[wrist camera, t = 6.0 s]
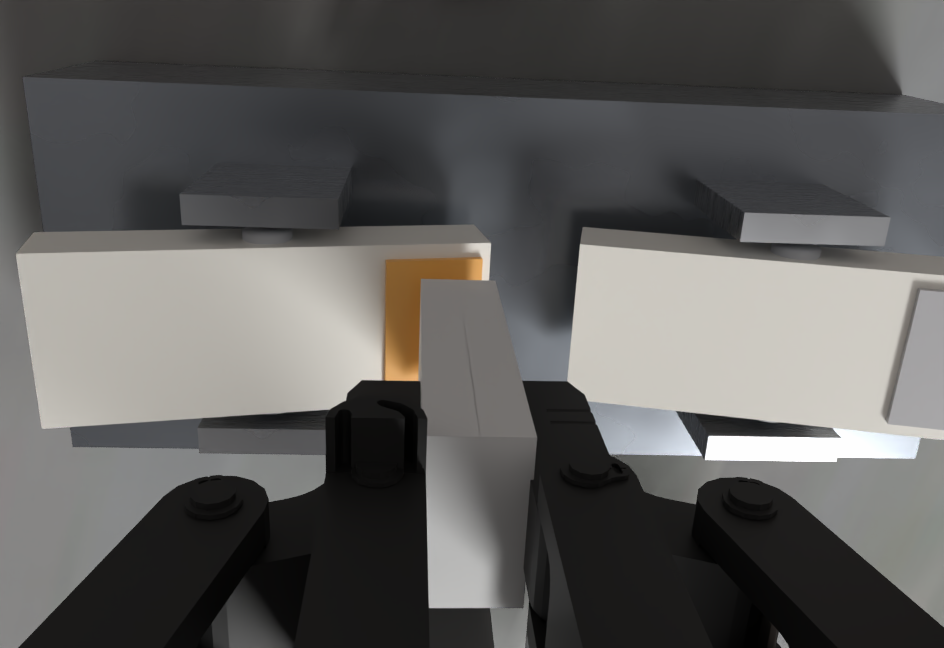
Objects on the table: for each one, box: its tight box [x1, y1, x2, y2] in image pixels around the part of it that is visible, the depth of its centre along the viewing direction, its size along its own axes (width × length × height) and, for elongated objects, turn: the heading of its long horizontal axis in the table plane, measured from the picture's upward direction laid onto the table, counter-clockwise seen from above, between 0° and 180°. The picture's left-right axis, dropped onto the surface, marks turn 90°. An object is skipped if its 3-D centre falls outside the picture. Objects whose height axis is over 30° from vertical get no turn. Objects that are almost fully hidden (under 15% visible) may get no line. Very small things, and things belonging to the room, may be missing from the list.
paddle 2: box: [567, 227, 944, 440], centre depth 19 cm, size 9×4×2 cm, turn 88°
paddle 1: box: [16, 224, 491, 429], centre depth 18 cm, size 9×4×2 cm, turn 87°
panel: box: [23, 61, 944, 462], centre depth 21 cm, size 22×9×8 cm, turn 87°
